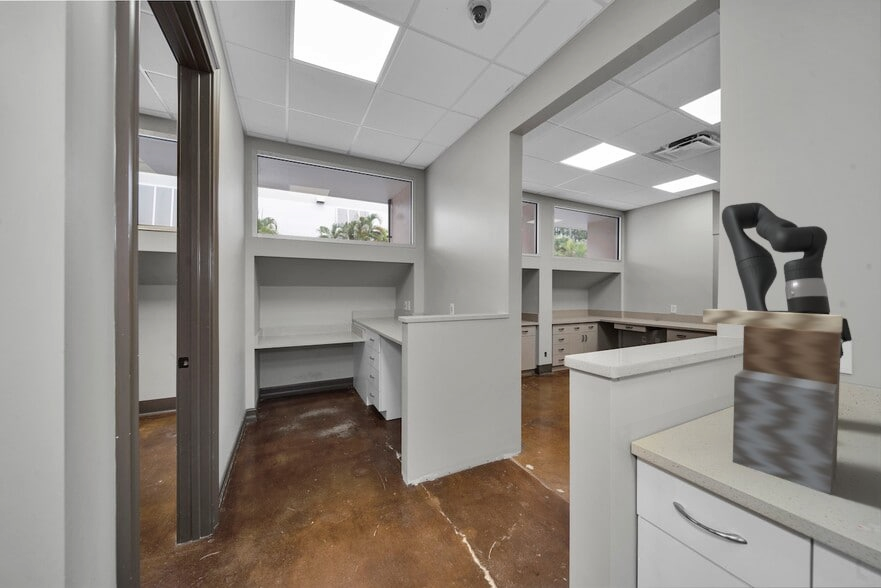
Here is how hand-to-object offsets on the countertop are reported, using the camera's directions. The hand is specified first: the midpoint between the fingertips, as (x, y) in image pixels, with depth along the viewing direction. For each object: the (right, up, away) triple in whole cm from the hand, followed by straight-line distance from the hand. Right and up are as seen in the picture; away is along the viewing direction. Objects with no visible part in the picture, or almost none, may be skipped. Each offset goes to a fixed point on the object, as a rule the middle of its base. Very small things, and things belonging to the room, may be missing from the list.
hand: (815, 357), depth 85 cm
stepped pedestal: (-18, -24, -9) cm, 31 cm away
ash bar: (-18, +9, -5) cm, 21 cm away
